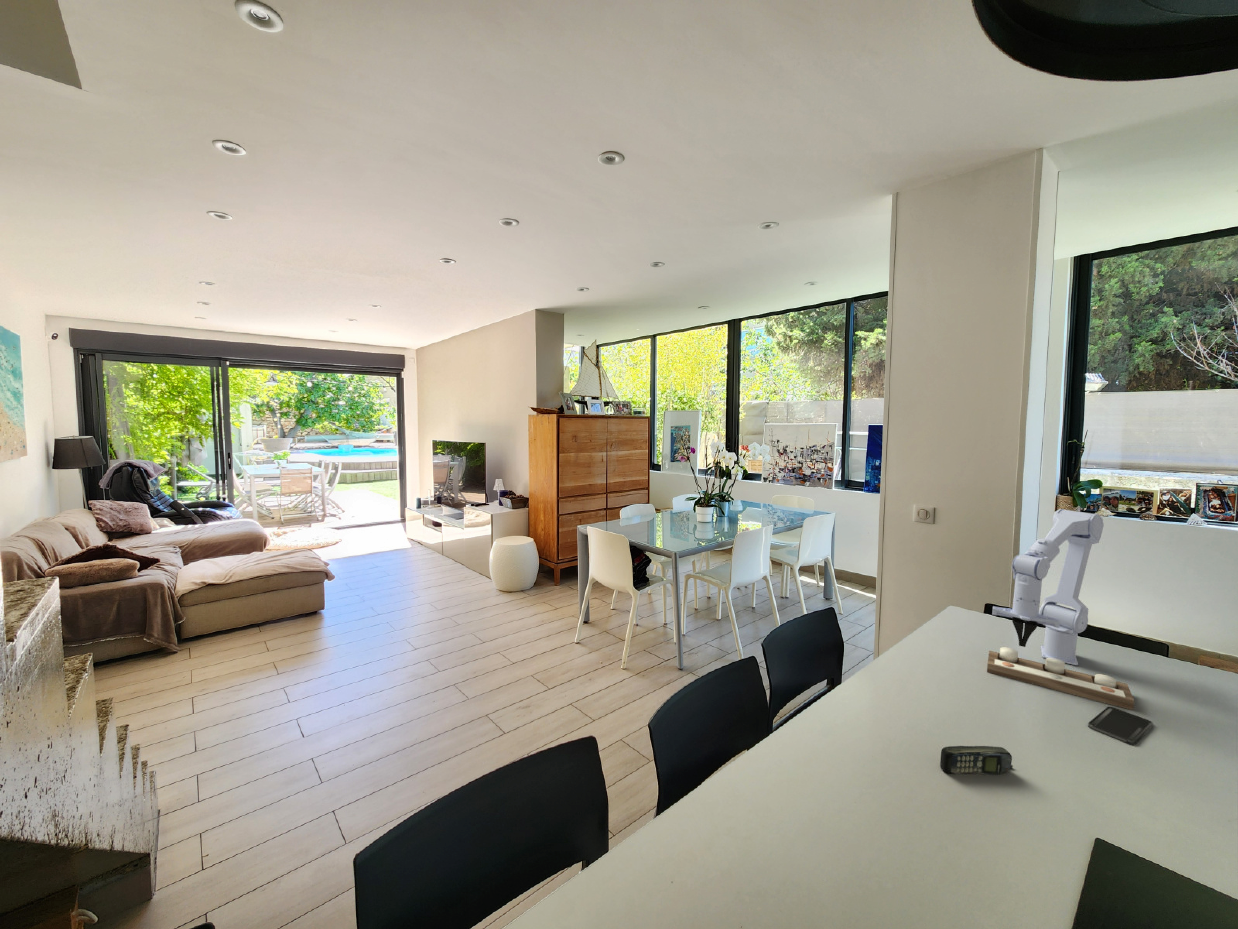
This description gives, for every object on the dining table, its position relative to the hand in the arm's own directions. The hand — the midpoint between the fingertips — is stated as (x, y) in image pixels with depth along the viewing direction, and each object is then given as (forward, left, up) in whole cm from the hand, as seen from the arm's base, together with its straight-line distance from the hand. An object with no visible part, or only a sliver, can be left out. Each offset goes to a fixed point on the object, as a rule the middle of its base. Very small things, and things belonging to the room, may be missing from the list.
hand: (1022, 645), depth 141 cm
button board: (+2, +7, -8) cm, 11 cm away
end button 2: (0, -3, -5) cm, 6 cm away
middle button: (0, +7, -5) cm, 9 cm away
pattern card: (+5, +7, -5) cm, 10 cm away
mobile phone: (+57, -7, -8) cm, 58 cm away
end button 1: (0, +17, -6) cm, 18 cm away
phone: (+18, +18, -8) cm, 27 cm away
